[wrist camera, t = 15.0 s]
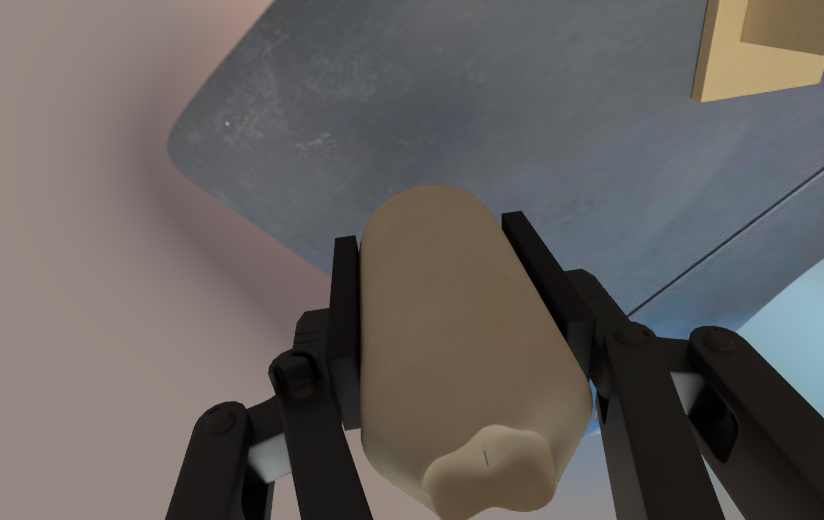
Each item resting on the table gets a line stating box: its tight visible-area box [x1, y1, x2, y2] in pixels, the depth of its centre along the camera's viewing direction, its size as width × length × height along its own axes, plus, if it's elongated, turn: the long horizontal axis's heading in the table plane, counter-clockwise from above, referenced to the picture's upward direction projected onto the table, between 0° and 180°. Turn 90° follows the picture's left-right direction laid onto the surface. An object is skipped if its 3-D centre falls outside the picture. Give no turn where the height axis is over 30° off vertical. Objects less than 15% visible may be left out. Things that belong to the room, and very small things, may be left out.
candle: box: [359, 185, 593, 520], centre depth 14 cm, size 6×6×10 cm
